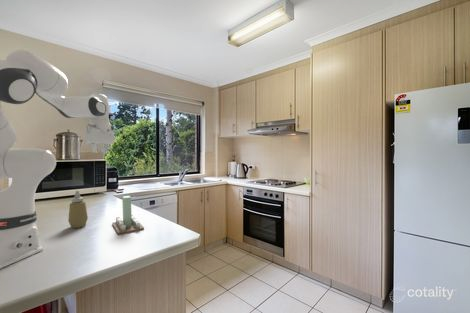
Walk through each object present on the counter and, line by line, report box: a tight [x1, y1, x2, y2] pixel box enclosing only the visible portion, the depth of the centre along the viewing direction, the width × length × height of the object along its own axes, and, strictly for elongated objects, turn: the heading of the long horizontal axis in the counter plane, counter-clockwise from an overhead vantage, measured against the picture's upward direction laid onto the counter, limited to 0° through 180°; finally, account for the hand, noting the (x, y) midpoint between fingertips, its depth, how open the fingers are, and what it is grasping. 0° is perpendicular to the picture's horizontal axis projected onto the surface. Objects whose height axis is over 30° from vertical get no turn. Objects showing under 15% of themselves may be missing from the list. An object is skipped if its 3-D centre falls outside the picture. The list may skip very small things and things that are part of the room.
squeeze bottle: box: [67, 190, 89, 229], centre depth 111 cm, size 8×8×18 cm
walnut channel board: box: [111, 214, 145, 236], centre depth 108 cm, size 18×11×4 cm, turn 36°
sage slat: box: [121, 195, 132, 227], centre depth 108 cm, size 5×3×14 cm, turn 36°
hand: (100, 152), depth 114 cm, fingers open, 8 cm apart
